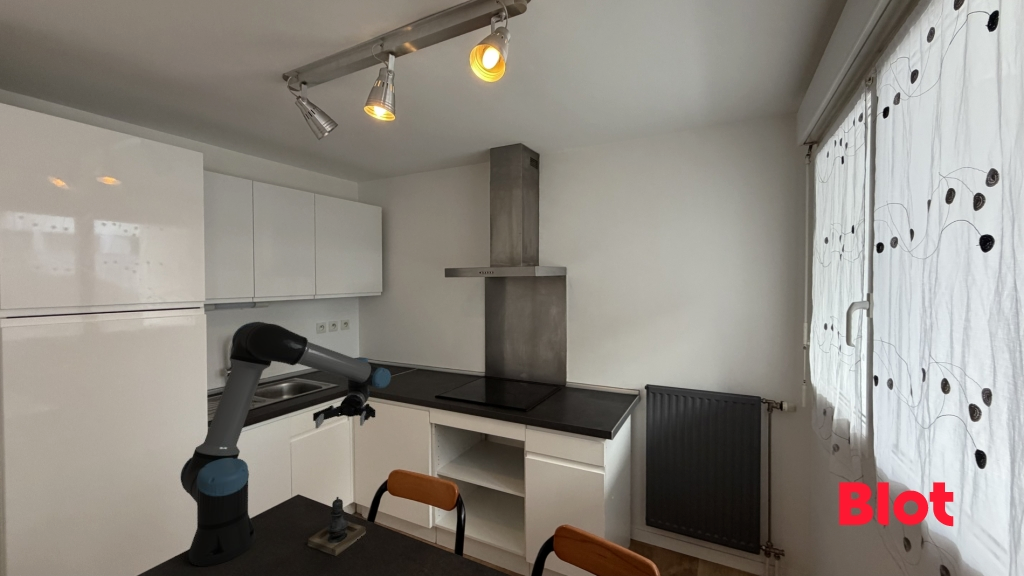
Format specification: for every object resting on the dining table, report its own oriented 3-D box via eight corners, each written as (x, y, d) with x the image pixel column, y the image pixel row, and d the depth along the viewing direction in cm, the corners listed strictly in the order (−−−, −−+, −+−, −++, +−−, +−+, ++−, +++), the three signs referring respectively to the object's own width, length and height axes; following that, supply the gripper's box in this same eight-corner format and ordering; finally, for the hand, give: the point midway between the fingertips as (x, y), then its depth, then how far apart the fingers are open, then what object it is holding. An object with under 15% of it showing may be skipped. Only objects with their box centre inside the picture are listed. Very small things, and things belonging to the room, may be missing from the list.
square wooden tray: (307, 545, 112) (307, 539, 112) (338, 524, 122) (338, 518, 122) (335, 556, 107) (335, 549, 107) (365, 533, 118) (365, 527, 118)
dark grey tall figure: (339, 545, 111) (340, 503, 111) (321, 542, 113) (321, 500, 113) (352, 532, 117) (352, 492, 117) (335, 530, 118) (335, 490, 118)
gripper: (387, 411, 150) (379, 431, 130) (317, 415, 146) (297, 437, 125) (387, 392, 151) (379, 409, 130) (317, 395, 146) (297, 413, 125)
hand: (339, 422), depth 127 cm, fingers open, 13 cm apart
